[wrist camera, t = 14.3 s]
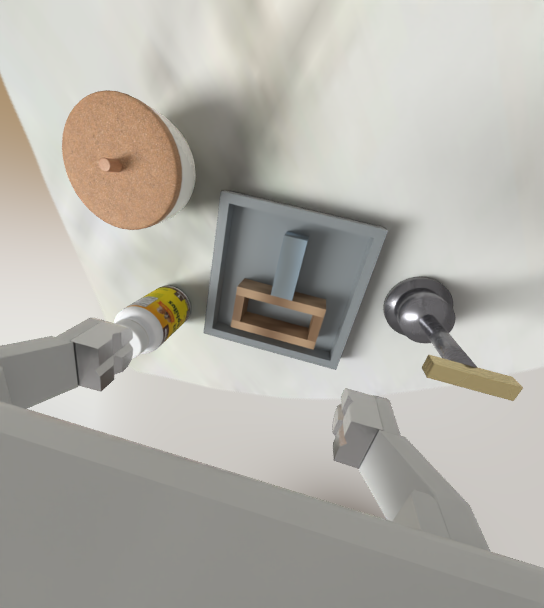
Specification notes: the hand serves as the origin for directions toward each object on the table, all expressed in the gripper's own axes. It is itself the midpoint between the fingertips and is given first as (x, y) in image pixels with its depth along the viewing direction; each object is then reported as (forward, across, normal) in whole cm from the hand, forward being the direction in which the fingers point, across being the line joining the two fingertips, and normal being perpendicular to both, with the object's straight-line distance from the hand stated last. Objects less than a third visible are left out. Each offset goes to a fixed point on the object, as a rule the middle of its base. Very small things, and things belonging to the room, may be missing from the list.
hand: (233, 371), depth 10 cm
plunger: (+23, -15, +4) cm, 28 cm away
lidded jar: (+24, +16, -5) cm, 29 cm away
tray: (+24, 0, +4) cm, 24 cm away
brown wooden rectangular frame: (+23, 0, +4) cm, 23 cm away
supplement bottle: (+24, +14, +11) cm, 30 cm away
